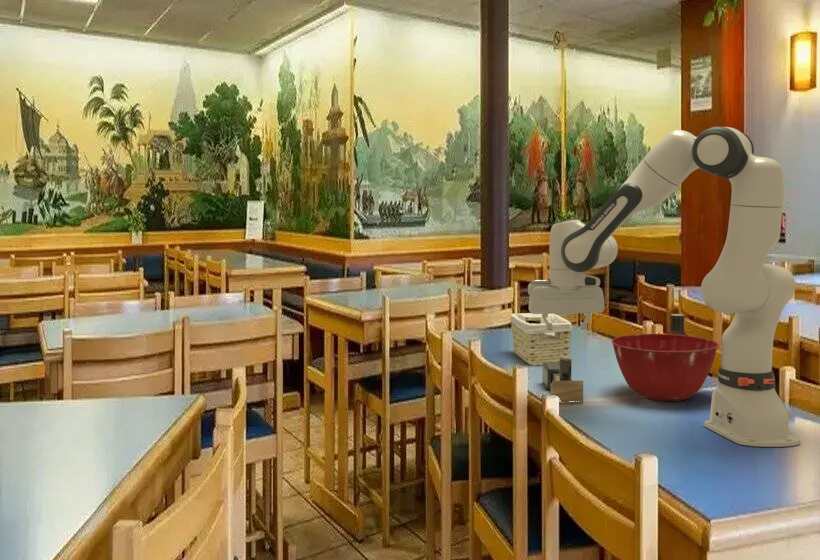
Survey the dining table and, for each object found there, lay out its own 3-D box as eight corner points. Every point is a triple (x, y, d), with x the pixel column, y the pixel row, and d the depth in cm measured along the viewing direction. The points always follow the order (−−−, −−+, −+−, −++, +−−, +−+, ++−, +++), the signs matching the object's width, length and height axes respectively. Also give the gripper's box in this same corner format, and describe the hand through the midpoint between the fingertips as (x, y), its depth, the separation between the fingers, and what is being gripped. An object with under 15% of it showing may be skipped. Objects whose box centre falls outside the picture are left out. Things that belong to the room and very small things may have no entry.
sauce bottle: (688, 382, 223) (690, 316, 221) (667, 381, 224) (668, 316, 222) (685, 377, 229) (687, 313, 227) (664, 376, 230) (665, 313, 228)
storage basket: (573, 365, 248) (574, 322, 246) (526, 367, 246) (526, 323, 245) (552, 351, 271) (552, 311, 270) (509, 353, 270) (509, 313, 268)
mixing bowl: (590, 388, 216) (591, 336, 215) (671, 379, 226) (672, 329, 224) (652, 413, 190) (653, 354, 188) (741, 402, 199) (742, 346, 198)
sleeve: (570, 390, 214) (571, 369, 214) (547, 390, 214) (547, 369, 214) (565, 382, 223) (565, 362, 223) (542, 383, 224) (542, 362, 223)
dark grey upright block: (573, 396, 202) (574, 361, 201) (559, 397, 202) (559, 361, 201) (565, 385, 215) (565, 351, 214) (551, 385, 215) (552, 352, 214)
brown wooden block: (583, 403, 200) (583, 381, 200) (552, 403, 201) (552, 381, 200) (580, 399, 204) (580, 377, 204) (550, 399, 205) (550, 378, 204)
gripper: (529, 280, 198) (529, 332, 200) (606, 279, 198) (606, 330, 199) (526, 279, 205) (526, 328, 206) (600, 277, 204) (600, 327, 205)
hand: (566, 329), depth 202 cm, fingers open, 8 cm apart
